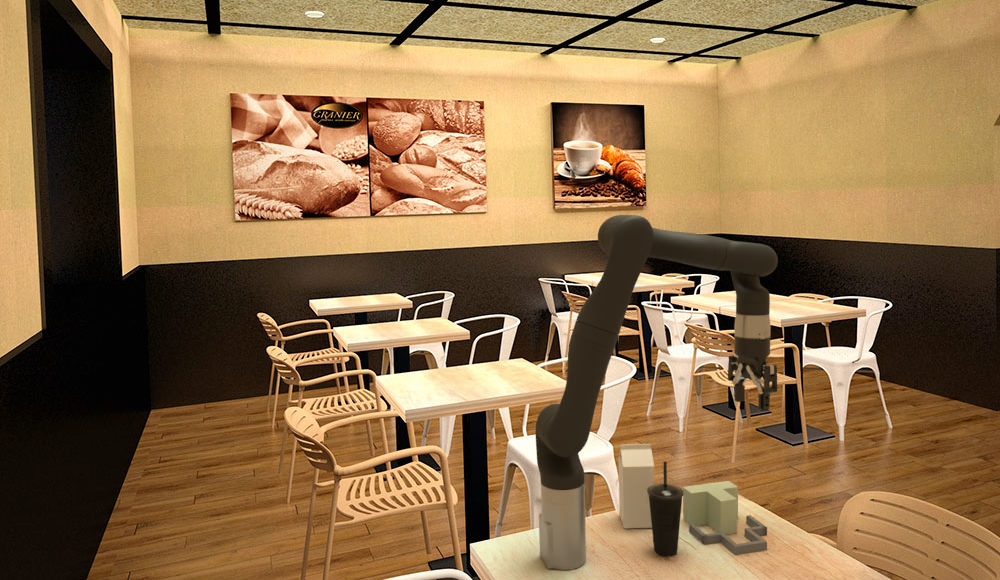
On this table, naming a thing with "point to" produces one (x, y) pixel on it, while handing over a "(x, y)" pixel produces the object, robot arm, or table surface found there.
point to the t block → (712, 506)
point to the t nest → (750, 533)
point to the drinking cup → (665, 515)
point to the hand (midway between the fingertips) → (751, 405)
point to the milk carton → (635, 485)
